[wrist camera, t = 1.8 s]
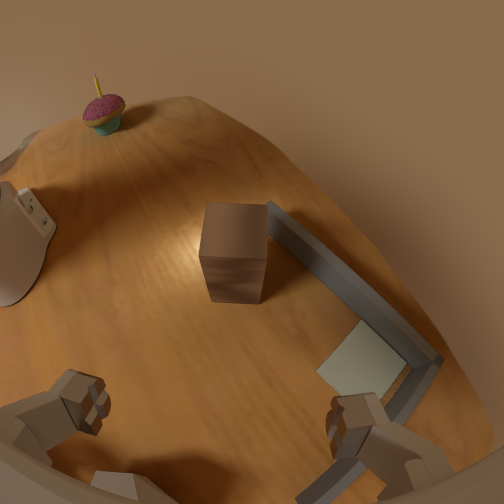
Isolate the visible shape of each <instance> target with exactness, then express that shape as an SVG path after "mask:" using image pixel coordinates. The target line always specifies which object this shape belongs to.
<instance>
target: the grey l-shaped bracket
mask: <svg viewBox="0 0 504 504" xmlns="http://www.w3.org/2000/svg"><path fill="white" fill-rule="evenodd" d="M265 205H268V233H269V234H270V235H271V236H272V237H273V238H274V239H275V240H277V241H278V242H279V243H280V244H281V245H282V246H283V247H284V248H285V249H287V250H288V251H289V252H290V253H291V254H292V255H293V256H294V257H295V258H297V259H298V260H299V261H300V262H301V263H302V264H303V265H304V266H305V267H306V268H308V269H309V270H310V271H311V272H312V273H313V274H314V275H315V276H316V277H317V278H318V279H320V280H321V281H322V282H323V283H324V284H325V285H326V286H327V287H328V288H329V289H330V290H331V291H333V292H334V293H335V294H336V295H337V296H338V297H339V298H340V299H341V300H342V301H343V302H344V303H345V304H347V305H348V306H349V307H350V308H351V309H352V310H353V311H354V312H355V313H356V314H357V315H358V316H359V317H360V318H361V319H362V320H360V322H359V323H358V324H357V325H356V326H355V328H354V329H353V330H352V331H351V332H350V333H349V335H348V336H347V337H346V338H345V339H344V340H343V342H342V343H341V344H340V345H339V346H338V347H337V348H336V349H335V351H334V352H333V353H332V354H331V355H330V356H329V357H328V358H327V359H326V360H325V361H324V362H323V364H322V365H321V366H320V367H319V368H318V369H317V370H316V372H317V373H318V374H319V375H320V376H321V377H322V378H323V379H324V380H325V381H326V382H327V383H328V384H330V385H331V386H332V387H333V388H334V389H335V390H336V391H337V392H338V393H339V394H340V395H341V396H344V395H353V394H361V393H369V392H375V393H376V395H377V397H378V398H379V400H380V399H381V398H382V397H383V395H384V394H385V393H386V391H387V390H388V389H389V387H390V386H391V385H392V383H393V382H394V380H395V379H396V378H397V376H398V375H399V373H400V372H401V371H402V369H403V368H404V366H405V365H406V363H408V364H409V365H410V366H411V367H412V370H411V371H410V373H409V374H408V376H407V377H406V379H405V380H404V382H403V383H402V385H401V386H400V387H399V389H398V390H397V392H396V393H395V394H394V396H393V397H392V398H391V400H390V401H389V402H388V404H387V405H386V406H385V408H384V410H385V412H386V414H387V416H388V418H389V420H390V422H396V423H397V424H399V425H401V426H402V425H403V424H404V422H405V421H406V420H407V418H408V417H409V416H410V414H411V413H412V411H413V410H414V408H415V407H416V406H417V404H418V403H419V401H420V400H421V398H422V396H423V395H424V393H425V392H426V390H427V389H428V387H429V385H430V384H431V382H432V380H433V379H434V377H435V375H436V374H437V372H438V370H439V368H440V367H441V365H442V363H443V361H444V359H443V358H442V357H441V356H440V355H439V354H438V352H437V351H436V350H435V349H434V348H433V347H432V346H431V345H430V344H429V343H428V342H427V341H426V340H425V339H424V338H423V337H422V336H421V335H420V334H419V333H418V332H417V331H416V330H415V329H414V328H413V327H412V326H411V325H410V324H409V323H408V322H407V321H406V320H405V319H404V318H403V317H402V316H401V315H400V314H399V313H398V312H397V311H396V310H395V309H394V308H393V307H391V306H390V305H389V304H388V303H387V302H386V301H385V300H384V299H383V298H382V297H381V296H380V295H379V294H378V293H377V292H376V291H375V290H374V289H372V288H371V287H370V286H369V285H368V284H367V283H366V282H365V281H364V280H363V279H362V278H361V277H359V276H358V275H357V274H356V273H355V272H354V271H353V270H352V269H351V268H350V267H348V266H347V265H346V264H345V263H344V262H343V261H342V260H341V259H339V258H338V257H337V256H336V255H335V254H334V253H333V252H332V251H330V250H329V249H328V248H327V247H326V246H325V245H324V244H322V243H321V242H320V241H319V240H318V239H317V238H315V237H314V236H313V235H312V234H311V233H310V232H308V231H307V230H306V229H305V228H304V227H303V226H301V225H300V224H299V223H298V222H297V221H295V220H294V219H293V218H292V217H291V216H289V215H288V214H287V213H286V212H285V211H283V210H282V209H281V208H280V207H279V206H277V205H276V204H275V203H274V202H272V201H269V202H268V203H266V204H265ZM364 321H365V322H366V323H367V324H368V325H369V326H370V327H371V328H372V329H373V330H374V331H373V330H372V329H371V328H370V327H369V326H368V325H367V324H366V323H365V322H364ZM388 344H389V345H390V346H391V347H392V348H393V349H394V350H395V351H396V352H397V353H398V354H399V355H400V356H401V357H402V358H403V359H404V360H405V361H404V360H403V359H402V358H401V357H400V356H399V355H398V354H397V353H396V352H395V351H394V350H393V349H392V348H391V347H390V346H389V345H388ZM366 468H367V467H366V466H365V465H364V464H363V463H361V462H360V461H359V460H358V459H357V458H356V456H355V457H348V458H340V459H338V460H337V461H336V462H335V463H334V464H333V465H332V466H331V467H330V468H329V469H328V470H327V471H326V472H325V473H324V474H323V475H322V476H320V477H319V478H318V479H317V480H316V481H315V482H314V483H313V484H311V485H310V486H309V487H308V488H307V489H306V490H304V491H303V492H302V493H301V494H299V495H298V496H297V497H296V498H295V500H296V501H297V503H298V504H329V503H331V502H332V501H333V500H334V499H335V498H336V497H337V496H338V495H340V494H341V493H342V492H343V491H344V490H345V489H346V488H347V487H348V486H349V485H350V484H351V483H352V482H353V481H354V480H355V479H356V478H357V477H358V476H359V475H360V474H361V473H362V472H363V471H364V470H365V469H366Z"/></svg>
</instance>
